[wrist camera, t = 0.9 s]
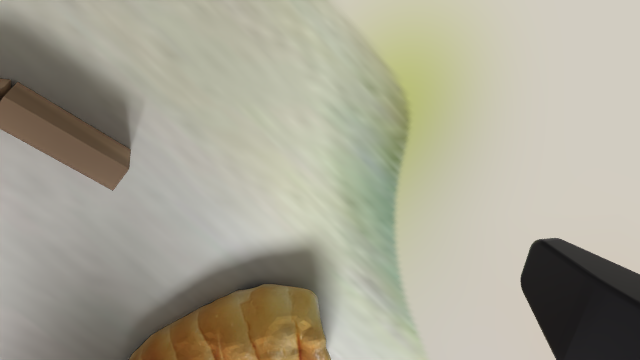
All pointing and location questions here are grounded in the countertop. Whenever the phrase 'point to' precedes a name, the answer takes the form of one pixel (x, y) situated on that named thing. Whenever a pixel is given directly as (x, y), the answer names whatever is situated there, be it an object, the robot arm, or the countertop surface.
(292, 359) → the pastry
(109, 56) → the countertop surface
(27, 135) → the walnut open arc
